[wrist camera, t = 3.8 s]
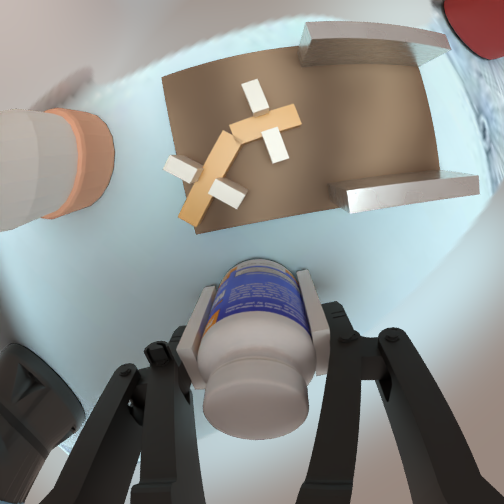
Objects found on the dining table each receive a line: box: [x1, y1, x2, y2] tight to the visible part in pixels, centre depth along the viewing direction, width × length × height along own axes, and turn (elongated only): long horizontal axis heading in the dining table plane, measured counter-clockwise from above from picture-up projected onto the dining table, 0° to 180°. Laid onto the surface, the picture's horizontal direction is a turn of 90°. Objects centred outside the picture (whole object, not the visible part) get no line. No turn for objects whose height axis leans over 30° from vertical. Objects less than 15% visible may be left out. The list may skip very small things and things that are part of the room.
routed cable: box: [163, 79, 302, 227], centre depth 13 cm, size 8×7×2 cm
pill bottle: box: [197, 259, 317, 440], centre depth 13 cm, size 5×5×10 cm
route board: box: [161, 46, 440, 235], centre depth 14 cm, size 16×10×1 cm, turn 102°
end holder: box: [297, 21, 480, 214], centre depth 11 cm, size 8×9×4 cm
